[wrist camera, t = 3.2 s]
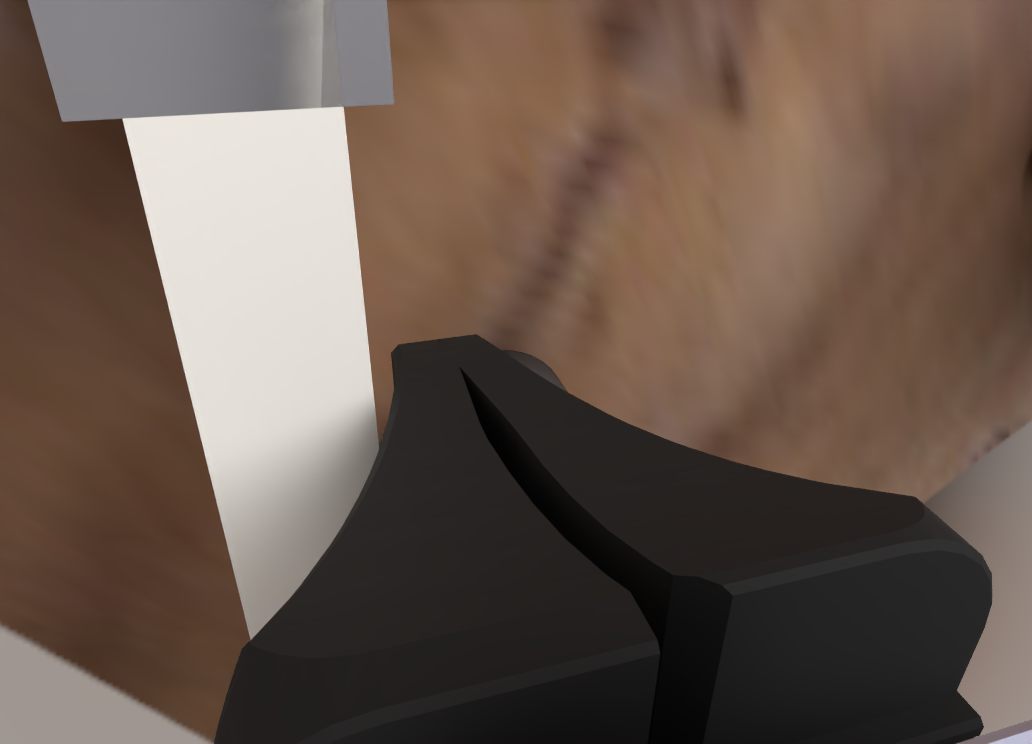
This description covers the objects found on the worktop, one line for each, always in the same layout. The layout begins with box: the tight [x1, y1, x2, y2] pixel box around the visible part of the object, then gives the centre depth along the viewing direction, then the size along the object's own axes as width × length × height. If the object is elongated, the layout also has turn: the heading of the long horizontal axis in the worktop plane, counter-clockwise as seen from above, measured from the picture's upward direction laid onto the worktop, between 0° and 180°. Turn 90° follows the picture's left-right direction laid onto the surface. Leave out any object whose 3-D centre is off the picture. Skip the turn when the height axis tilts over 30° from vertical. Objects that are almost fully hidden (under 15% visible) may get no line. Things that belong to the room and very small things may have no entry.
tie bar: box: [28, 0, 394, 639], centre depth 13 cm, size 3×16×8 cm, turn 0°
